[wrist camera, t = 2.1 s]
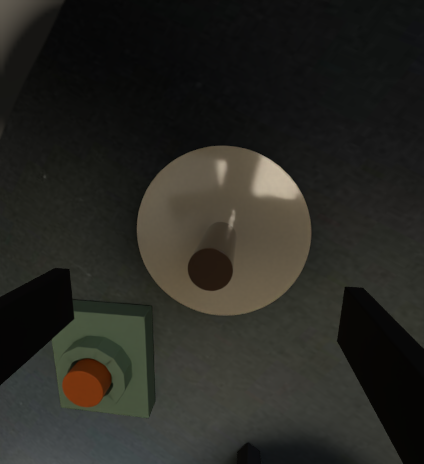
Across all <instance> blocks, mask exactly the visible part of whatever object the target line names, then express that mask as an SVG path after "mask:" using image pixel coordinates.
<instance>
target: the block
mask: <svg viewBox="0 0 424 464" xmlns="http://www.w3.org/2000/svg"><path fill="white" fill-rule="evenodd" d="M73 309H74V318H75V319H74V320H73V321H72V322H70V323H69V324H68V325H67V326H66V327H65V328H64V329H63V330H62V331H60V332H59V333H58V334H57V335H56V336H55V337H54V338H53V339H52V345H53V352H54V360H55V367H56V374H57V382H58V389H59V396H60V403H61V407H62V408H70V409H78V410H86V411H94V412H102V413H110V414H118V415H127V416H135V417H143V418H149V416H150V414H151V411H152V408H153V406H154V403H155V382H154V354H153V326H152V306H145V305H132V304H119V303H106V302H94V301H81V300H73ZM87 358H90V359H95V360H97V361H98V362H100V363H102V364H103V365H105V366H106V367H107V369H108V370H109V372H110V373H111V378H112V381H111V385H110V387H109V389H108V390H107V392H106V394H105V395H104V397H103V399H102V400H101V401H100V403H98V404H97V405H95V406H93V407H81V406H78V405H76V404H74V403H72V402H71V401H70V400H69V399H68V398H67V397H66V396H65V394H64V392H63V389H62V382H63V379H64V377H65V376H66V375H67V373H68V372H69V371H70V370H71V369H72V367H73V366H74V365H75V364H76V363H77V362H78V361H80V360H82V359H87Z"/></svg>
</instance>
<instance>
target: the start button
mask: <svg viewBox="0 0 424 464" xmlns="http://www.w3.org/2000/svg"><path fill="white" fill-rule="evenodd" d="M111 381H112V378H111V373H110V372H109V370H108V369H107V367H106V366H105V365H103V364H102V363H100V362H98V361H97V360H95V359H90V358H87V359H82V360H80V361H78V362H77V363H76V364H75V365H74V366H73V367H72V369H71V370H70V371H69V372H68V373H67V375H66V376H65V377H64V379H63V382H62V389H63V392H64V394H65V396H66V397H67V398H68V399H69V400H70V401H71V402H72V403H74V404H76V405H78V406H81V407H93V406H95V405H97V404H98V403H100V401H101V400H102V399H103V397H104V395H105V394H106V392H107V390H108V389H109V387H110V385H111Z"/></svg>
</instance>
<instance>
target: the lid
mask: <svg viewBox="0 0 424 464" xmlns="http://www.w3.org/2000/svg"><path fill="white" fill-rule="evenodd" d="M137 239H138V245H139V250H140V254H141V256H142V259H143V262H144V264H145V266H146V268H147V270H148V272H149V273H150V275H151V276H152V278H153V279H154V281H155V282H156V283H157V284H158V285H159V286H160V287H161V289H162V290H163V291H165V292H166V293H167V294H168V295H169V296H170V297H172V298H173V299H175V300H176V301H178V302H179V303H181V304H183V305H185V306H187V307H189V308H191V309H194V310H196V311H199V312H203V313H207V314H213V315H239V314H244V313H248V312H252V311H255V310H258V309H260V308H262V307H264V306H266V305H268V304H270V303H272V302H273V301H275V300H276V299H278V298H279V297H280V296H281V295H283V294H284V293H285V292H286V291H287V290H288V289H289V288H290V287H291V285H292V284H293V283H294V282H295V281H296V279H297V278H298V276H299V275H300V273H301V271H302V269H303V267H304V265H305V263H306V260H307V257H308V253H309V249H310V243H311V221H310V215H309V211H308V207H307V205H306V202H305V200H304V197H303V195H302V193H301V191H300V190H299V188H298V186H297V185H296V183H295V182H294V181H293V179H292V178H291V177H290V176H289V175H288V174H287V173H286V172H285V171H284V170H283V169H282V168H281V167H280V166H279V165H277V164H276V163H275V162H273V161H272V160H270V159H269V158H267V157H265V156H263V155H261V154H259V153H256V152H254V151H251V150H248V149H244V148H240V147H234V146H210V147H205V148H200V149H197V150H194V151H191V152H188V153H186V154H184V155H182V156H180V157H178V158H177V159H175V160H174V161H172V162H171V163H169V164H168V165H167V166H166V167H165V168H164V169H162V170H161V171H160V172H159V173H158V175H157V176H156V177H155V178H154V179H153V181H152V182H151V184H150V185H149V187H148V189H147V190H146V192H145V194H144V197H143V199H142V201H141V205H140V208H139V212H138V219H137Z"/></svg>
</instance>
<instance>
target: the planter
mask: <svg viewBox="0 0 424 464" xmlns="http://www.w3.org/2000/svg"><path fill="white" fill-rule="evenodd" d="M237 464H261V458H260V451H259V450H258V449H256V448H255V447H254V446H252V445H251V444H250V443H247V444H246V445H245V446H243V447H242V448H241V449H240V450H239V451H238V452H237Z"/></svg>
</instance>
